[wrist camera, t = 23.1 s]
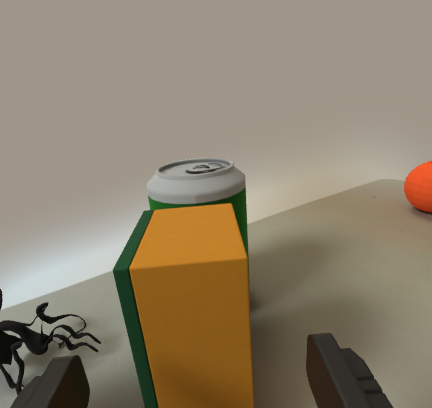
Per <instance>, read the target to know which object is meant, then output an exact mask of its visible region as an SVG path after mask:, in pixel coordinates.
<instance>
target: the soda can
mask: <svg viewBox="0 0 432 408" xmlns="http://www.w3.org/2000/svg"><path fill="white" fill-rule="evenodd" d="M147 192H148V198H149V204H150V210H160V209H171V208H183V207H194V206H205V205H217V204H228V203H231V204H232V206H233V210H234V213H235V217H236V220H237V223H238V227H239V230H240V234H241V237H242V240H243V244H244V247H245V251H246V254H247V258H248V235H247V212H246V188H245V175H244V174H243V173H242V172H241V171H239V170H238V169H237V168H236V167H234V163H233V162H232V161H230V160H227V159H220V158H196V159H187V160H181V161H175V162H171V163H168V164H165V165H162V166H160V167H158V168H157V169H156V174H155V175H154V176H153V177H152V178H151V179H150V180H149V181H148V183H147ZM248 277H249V260H248Z"/></svg>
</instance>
